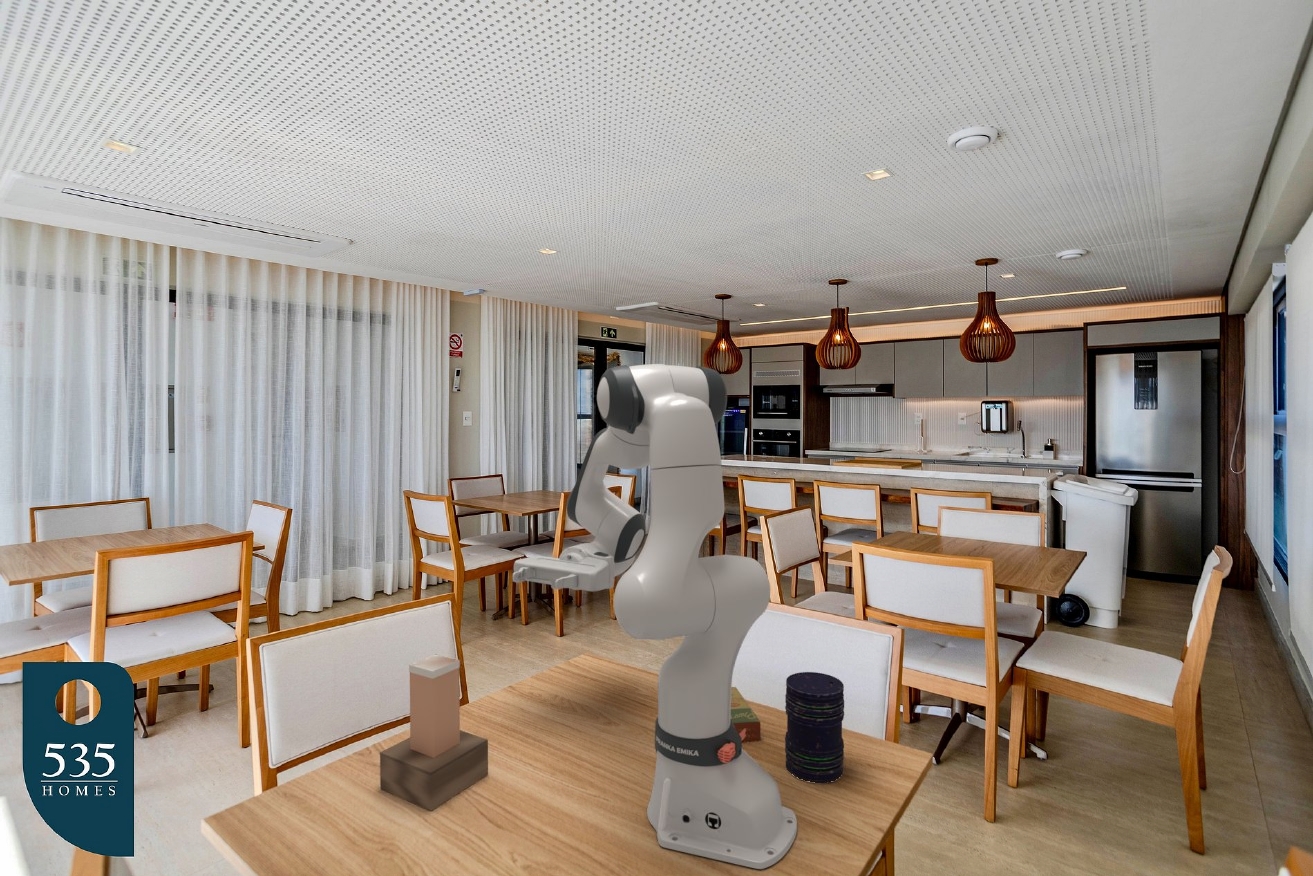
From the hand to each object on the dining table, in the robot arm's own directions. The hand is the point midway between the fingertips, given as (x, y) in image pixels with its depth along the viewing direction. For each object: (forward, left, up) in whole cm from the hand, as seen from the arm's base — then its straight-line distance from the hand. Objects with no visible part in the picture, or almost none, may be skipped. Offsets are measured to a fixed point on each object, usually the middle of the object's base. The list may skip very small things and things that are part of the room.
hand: (534, 581), depth 121 cm
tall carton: (+5, +19, -24) cm, 31 cm away
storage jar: (-48, -17, -30) cm, 59 cm away
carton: (-28, -25, -31) cm, 49 cm away
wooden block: (+5, +19, -30) cm, 36 cm away
